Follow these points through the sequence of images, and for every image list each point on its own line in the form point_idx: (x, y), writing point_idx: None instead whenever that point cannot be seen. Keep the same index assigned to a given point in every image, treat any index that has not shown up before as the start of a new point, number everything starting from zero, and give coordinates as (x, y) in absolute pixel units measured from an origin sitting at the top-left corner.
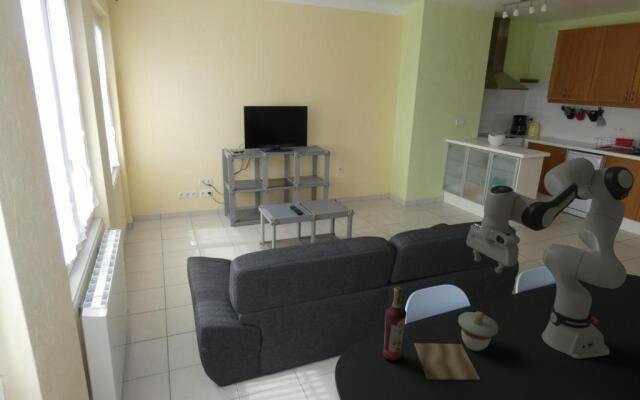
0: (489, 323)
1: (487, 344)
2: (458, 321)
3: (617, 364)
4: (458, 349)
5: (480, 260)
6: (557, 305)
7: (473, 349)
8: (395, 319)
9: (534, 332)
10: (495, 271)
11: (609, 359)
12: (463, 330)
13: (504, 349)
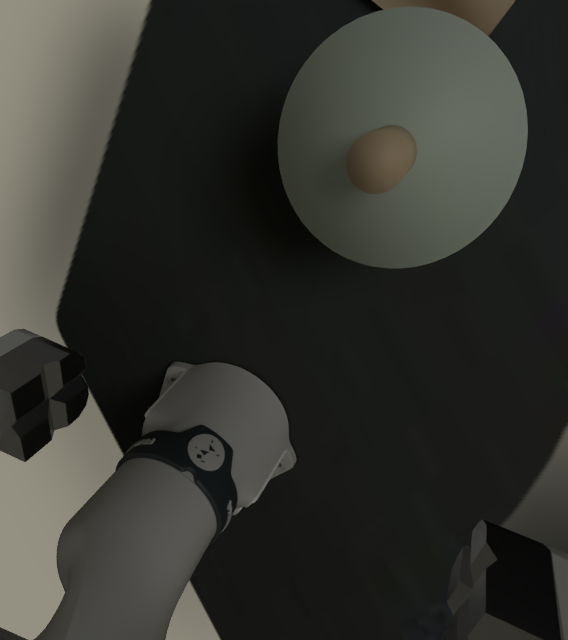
0: (344, 208)
1: None
2: (499, 49)
3: (124, 409)
4: (447, 9)
5: (451, 585)
6: (172, 496)
7: None
8: None
9: (307, 410)
10: (52, 346)
11: (141, 417)
12: None
13: None
